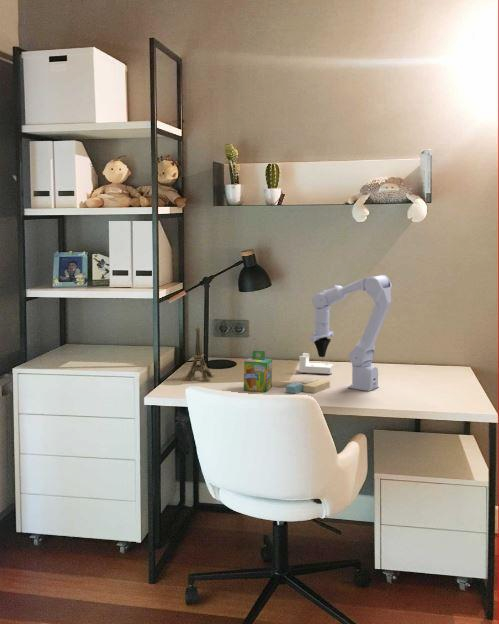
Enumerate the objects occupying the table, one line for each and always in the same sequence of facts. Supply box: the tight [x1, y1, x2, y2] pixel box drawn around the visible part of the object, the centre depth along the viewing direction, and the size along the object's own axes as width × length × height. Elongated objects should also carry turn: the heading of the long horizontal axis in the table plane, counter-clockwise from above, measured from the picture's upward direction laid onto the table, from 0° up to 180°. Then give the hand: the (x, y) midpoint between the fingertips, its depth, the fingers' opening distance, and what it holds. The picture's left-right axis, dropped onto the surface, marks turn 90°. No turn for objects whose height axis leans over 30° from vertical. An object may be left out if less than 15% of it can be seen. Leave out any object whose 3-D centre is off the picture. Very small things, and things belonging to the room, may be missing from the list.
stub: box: [285, 382, 305, 394], centre depth 291 cm, size 4×6×2 cm, turn 143°
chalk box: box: [243, 350, 273, 393], centre depth 294 cm, size 9×9×15 cm
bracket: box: [298, 352, 334, 375], centre depth 322 cm, size 13×7×8 cm, turn 74°
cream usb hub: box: [302, 379, 331, 394], centre depth 294 cm, size 5×11×2 cm, turn 143°
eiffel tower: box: [182, 326, 215, 383], centre depth 312 cm, size 11×11×25 cm
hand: (321, 356), depth 306 cm, fingers closed
